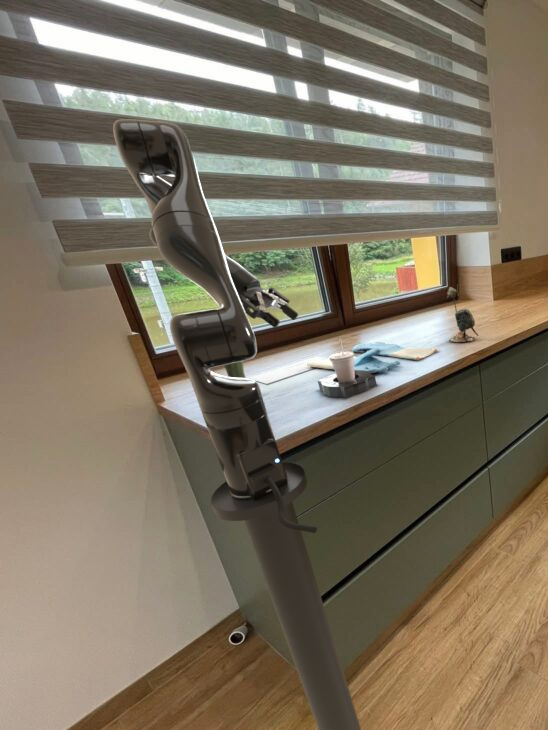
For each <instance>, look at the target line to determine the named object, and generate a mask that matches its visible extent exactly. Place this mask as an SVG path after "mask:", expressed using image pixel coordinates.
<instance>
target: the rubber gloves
mask: <svg viewBox="0 0 548 730" xmlns="http://www.w3.org/2000/svg"><path fill="white" fill-rule="evenodd" d="M360 350H366V352H364V353H362V354H360V355H358V356H354V358H353V359H354V370H364V371H368V372H370V373H371V374H374V373H385V372H388V370H389V369H394V368H397V367H398V366H400V365H401V361H400V360H394V361H390V362H389V361H383V360H381V359H379V358H377V357H375V355H378V356H379V355H380V356H388V357H393V358H401V359H407V360H415V361H418V360H422V359H424V358H427V357H428V356H431V355H433V354H435V353H436V352H438V348H427V347H401V346H400V345H399V344H397V343H386V342H382V341H381V342H380V341H379V342H378V341H377V342H374V343H373V342H366V343H359V344H357V345H355V346H353V348H351V352H353V353H357V352H358V351H360ZM307 367H312V368H318V369H319V368H320V369H326V370H334V367H333V365H332V362H331V361H330V359H329V357H328V358H326V359H323V360H320V359H313V360H310V361H308V362H307Z"/></svg>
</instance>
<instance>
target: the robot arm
mask: <svg viewBox="0 0 548 730" xmlns="http://www.w3.org/2000/svg"><path fill="white" fill-rule="evenodd" d="M112 132H113V137H114V141H115V146H116V148H117V151H118V153H119V156H120V158H121V160H122V163H123V165H124V166H125V168H126V170H127V171H128V173H129V175H130V177H131V178H132V180H133V181H134V183H135V185H136V186H137V188H138V189H139V191H140V192H141V194H142V196H143V197H144V199H145V201H146V203H147V205H148V209H149V211H150V214H151V220H150V221H151V222H150V223H151V228H150V230H149V238H150V241H151V242H152V243H153V245H154V246H155V247H156V248H158V251H159V253H160V255H161V257H162V258H163V260H164V261H165V262H166V263H167V264H168V265H169V266H170V267H171V268H173V269H174V270H175V271H176V272H178V273H179V274H180V275H182V276H184V277H185V278H186V279H188V280H189V281H191V282H192V283H194V284H195V285H197V286H198V287H199V288H201V289H202V290H203V291H204V292H206V293H207V294H208V295H209V296H210V297H211V298H212V299H213V301H214V302H215V303H216V304H217V305H218V306H219V308H211V309H205V310H198V311H191V312H185V313H184V312H183V313H179V314H175V315H174V316H172V318H171V319H170V321H169V329H170V334H171V337H172V341H173V343H174V346H175V348H176V350H177V354H178V356H179V357H180V360H181V362H182V364H183V366H184V369H185V371H186V373H187V376H188V379H189V381H190V383H191V386H192V388H193V392H194V394H195V397H196V400H197V404H198V406H199V409H200V412H201V414H202V417H203V420H204V423H205V425H206V428H207V431H208V434H209V436H210V440H211V443H212V445H213V448H214V450H215V451H214V452H215V454H216V456H217V458H218V461H219V465H220V467H221V469H222V473H223V475H224V478H225V480H226V481H227V484H228V486H229V489H230V494H231V496H232V497H233V498H235V499H238V500H249V499H252V500H254V501H256V500H258V499H260V498H262V497H264V496H265V495H267V494H269V493H271V492H273V494H274V496H275V499H276V502H277V506H278V520H279V521H280V523H281V524H282V525H284V526H285V527H287V528H290V529H294V530H299V531H301V532H305V533H312V534H315V533H317V531H318V528H317V526H313V525H307V524H300V523H299V524H296V523H292V522H290V521H288V520H287V519H285V517H284V504H283V500H282V497H281V494H280V492H279V490H278V489H279V488H281V487H282V486H284V485H286V484H288V482H287V475H286V472H285V470H284V467H283V463H284V462H283V460H282V457H281V454H280V451H279V448H278V445H277V441H276V437H275V434H274V430H273V427H272V425H271V421H270V417H269V414H268V411H267V407H266V404H265V400H264V397H263V393H262V391H261V386H260V385H259V383H258V381H256V380H254V379H253V378H247V377H246V378H237V377H228V375H224V374H220V373H217V372H214V371H213V370H212V368H217V367H221V366H224V365H227V364H232V363H237V362H242V361H243V362H246V361H248V360H249V361H250V360H252V359H254V358H255V356H256V354H257V352H258V345H257V339H256V336H255V331H254V330H253V327H252V324H251V322H250V318H251V319H253V320H254V319H255V320H256V319H257V318H258V319H260V320H264V322H266V323H267V324H268V325H270V326H271V327H273V328H277V327H278V326H279V325H280V323H281V320H280V319H278V318H277V317H276V316H275V315H273V314H272V313H271V312H269V311H267V309H268V308H269V309H272V310H275V309H276V310H278V311H281V312H282V313H283V314H285V315H286V316H287V317H288V318H289V319H291V320H292V321H295V320H297V318H298V317H299V313H298V312H297V311H296V310H294V309H293V308H292V307H291V306H289V303H290V299H288V298H287V297H286V296H284V295H283V294H282V293H281V292H280V291H278V290H277V289H275V288H274V287H273V286H270V287H269V288H268V289H265V288H263V287H261V281H260V280H259V278H257V277H256V276H255V275H254V274H252V273H251V272H249V271H248V270H247V269H246V268H245V267H243V266H242V265H241V264H240V263H238V262H237V261H236V260H234V259H232V258H230V257H229V256H228V255H226V253H225V251H224V248H223V245H222V241H221V238H220V236H219V233H218V229H217V226H216V223H215V222H214V219H213V215H212V214H211V211H210V208H209V206H208V203H207V200H206V198H205V195H204V192H203V188H202V184H201V181H200V177H199V173H198V169H197V166H196V160H195V156H194V154H193V150H192V146H191V144H190V141H189V139H188V137H187V135H186V133H185V132H184V130H183V129H182V128H181V127H180V126H179V125H177V124H175V123H172V122H167V121H158V120H145V119H135V118H134V119H133V118H132V119H131V118H129V119H128V118H121V119H116V120H115V121H114V122H113V126H112ZM161 177H174V179H173V182H172V184H171V183H170V182H168V181H166V180H165V179H163V178H161ZM251 310H252V311H251ZM249 317H250V318H249ZM226 481H225V482H226Z"/></svg>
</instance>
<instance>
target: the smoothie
mask: <svg viewBox="0 0 548 730" xmlns="http://www.w3.org/2000/svg"><path fill="white" fill-rule="evenodd" d="M338 342H339V347H340V352H336V353H332V354H330V355H329V356H328V358H329V359H330V361H331V362H332V365H333V367H334V369H333V370H334V374H336V376H337V378H338V381H339V383H343V382H349V381H353V380H355V373H354V359H353V358H354V357H355V354H354V353H355V352H353V351H344V347H343V343H342V338H338Z"/></svg>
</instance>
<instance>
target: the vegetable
mask: <svg viewBox="0 0 548 730" xmlns="http://www.w3.org/2000/svg"><path fill="white" fill-rule="evenodd" d="M223 366H224V368H225V371H226V375H227V376H228V377H237V378H247V377H246V375H245V370H244V361H242V362H237V363H232V364H227V365H223Z"/></svg>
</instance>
